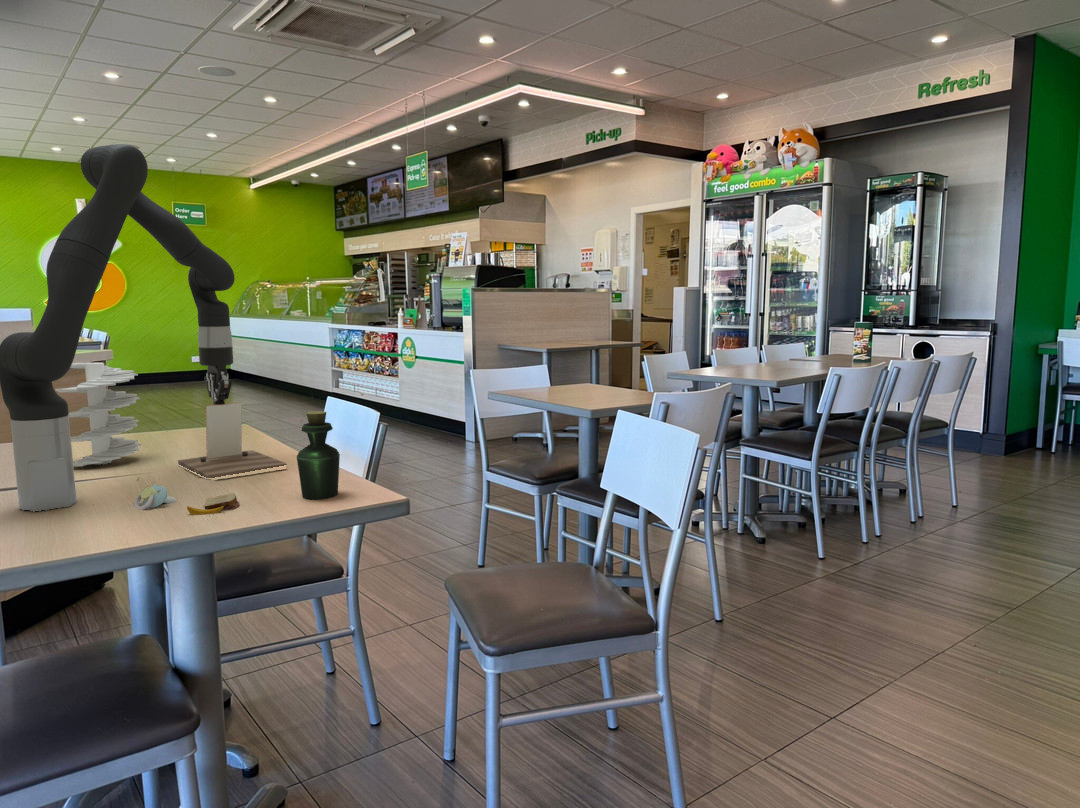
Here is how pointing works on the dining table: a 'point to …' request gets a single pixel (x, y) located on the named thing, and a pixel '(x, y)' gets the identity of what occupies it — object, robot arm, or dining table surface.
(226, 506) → the toy sandwich meal
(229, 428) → the flip tile
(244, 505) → the dining table surface
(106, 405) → the spiral staircase
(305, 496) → the potion bottle
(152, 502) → the pacifier
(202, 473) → the board
